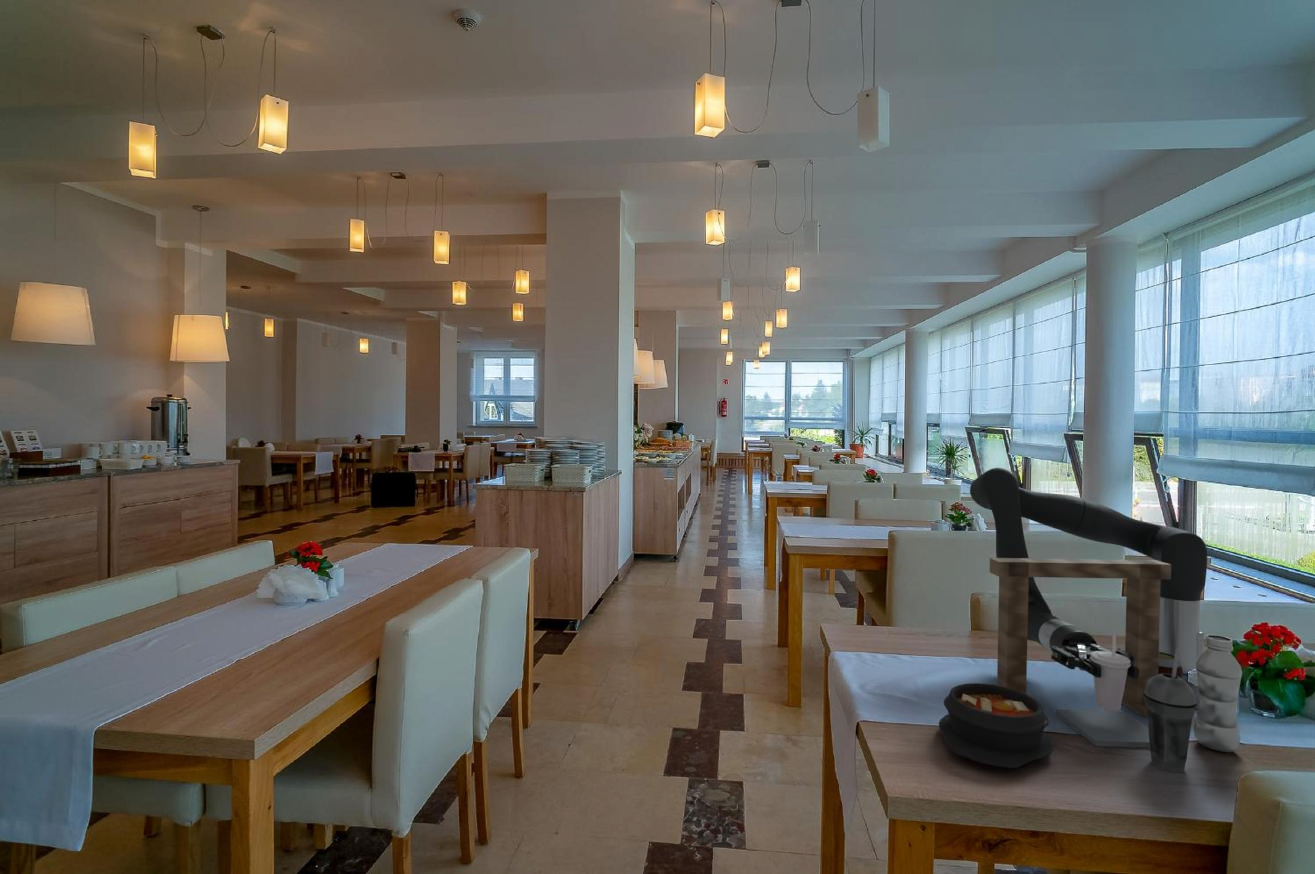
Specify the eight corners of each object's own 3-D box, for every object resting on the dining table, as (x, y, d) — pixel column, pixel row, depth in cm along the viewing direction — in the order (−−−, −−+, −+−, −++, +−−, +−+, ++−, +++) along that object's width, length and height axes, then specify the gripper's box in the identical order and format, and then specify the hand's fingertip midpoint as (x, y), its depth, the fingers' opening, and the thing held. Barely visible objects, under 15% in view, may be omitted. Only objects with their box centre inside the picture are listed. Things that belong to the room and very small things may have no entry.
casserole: (1040, 792, 105) (1041, 740, 104) (919, 755, 116) (920, 707, 116) (1063, 734, 124) (1064, 690, 124) (958, 707, 136) (958, 666, 135)
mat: (1122, 715, 132) (1122, 710, 132) (1169, 748, 119) (1170, 742, 119) (1055, 714, 132) (1055, 709, 132) (1095, 746, 119) (1095, 740, 119)
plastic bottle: (1228, 742, 121) (1231, 634, 121) (1247, 760, 115) (1251, 645, 114) (1186, 736, 123) (1189, 630, 123) (1202, 753, 117) (1205, 641, 116)
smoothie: (1135, 716, 122) (1138, 641, 121) (1097, 712, 123) (1099, 638, 123) (1119, 701, 128) (1121, 630, 128) (1082, 698, 130) (1084, 627, 129)
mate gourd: (1169, 686, 147) (1170, 619, 147) (1192, 701, 139) (1194, 630, 139) (1132, 684, 148) (1133, 617, 148) (1153, 698, 140) (1154, 628, 140)
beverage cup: (1130, 755, 116) (1133, 642, 116) (1169, 753, 117) (1172, 641, 116) (1166, 777, 109) (1169, 657, 108) (1207, 776, 110) (1210, 656, 109)
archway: (1143, 697, 141) (1147, 557, 140) (1178, 718, 131) (1182, 567, 130) (980, 693, 142) (983, 554, 142) (1002, 713, 132) (1005, 565, 132)
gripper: (1032, 623, 140) (1079, 652, 123) (1102, 625, 139) (1158, 654, 123) (1031, 658, 140) (1077, 691, 123) (1101, 660, 140) (1157, 694, 123)
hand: (1117, 672), depth 123 cm, fingers closed on smoothie, 6 cm apart
